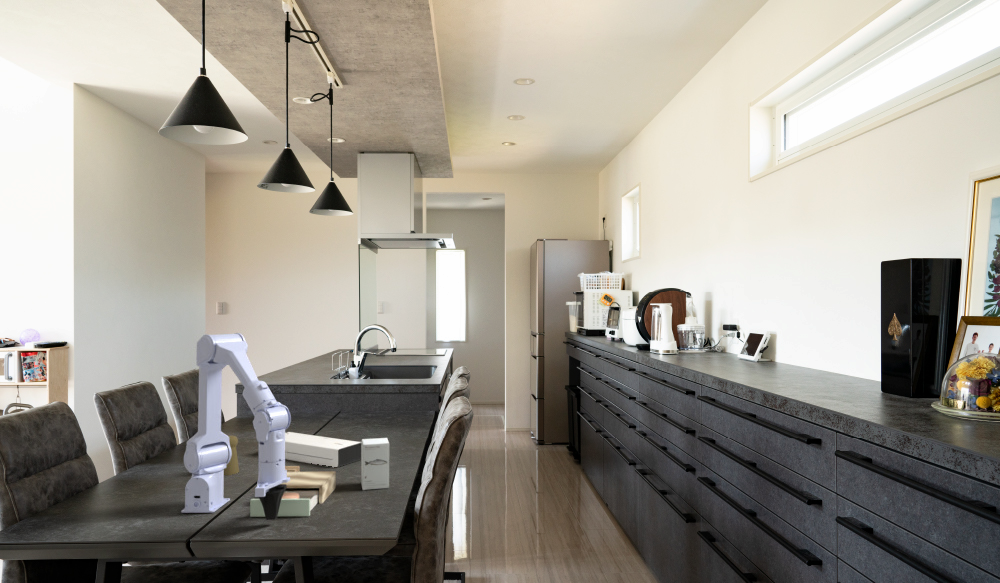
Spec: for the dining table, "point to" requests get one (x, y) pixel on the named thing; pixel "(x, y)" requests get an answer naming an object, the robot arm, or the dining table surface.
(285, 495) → the disc
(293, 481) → the block
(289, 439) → the laminator
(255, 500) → the tray
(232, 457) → the pepper mill
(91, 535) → the dining table surface
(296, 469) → the pedestal
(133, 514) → the dining table surface
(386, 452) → the supplement box
